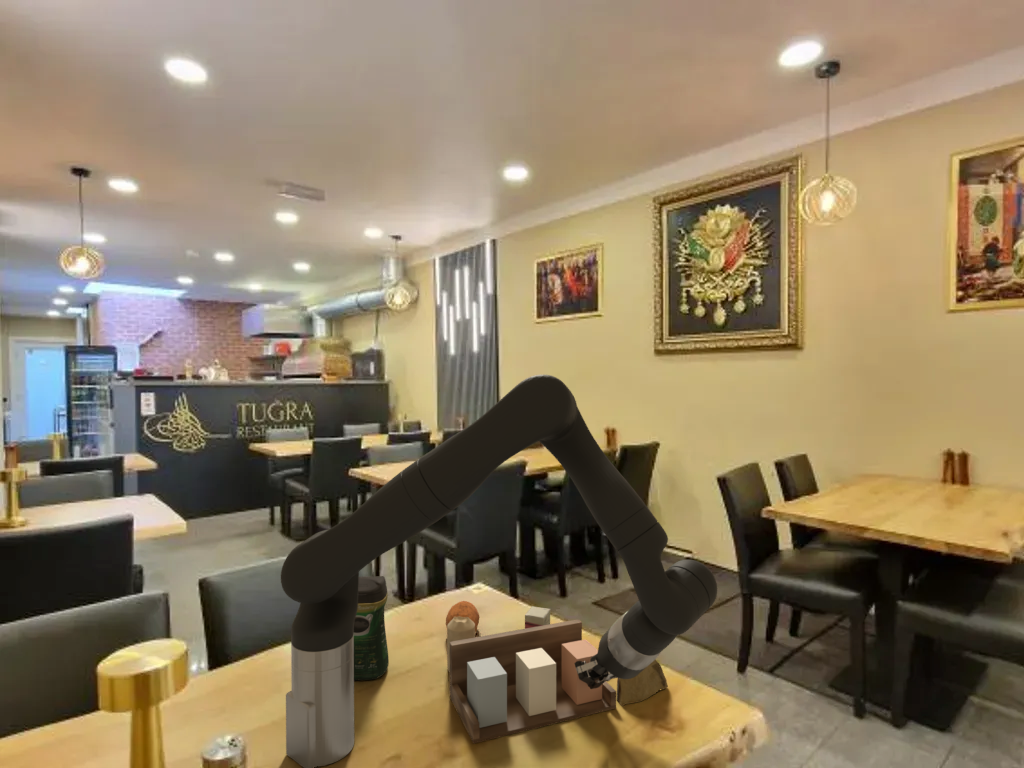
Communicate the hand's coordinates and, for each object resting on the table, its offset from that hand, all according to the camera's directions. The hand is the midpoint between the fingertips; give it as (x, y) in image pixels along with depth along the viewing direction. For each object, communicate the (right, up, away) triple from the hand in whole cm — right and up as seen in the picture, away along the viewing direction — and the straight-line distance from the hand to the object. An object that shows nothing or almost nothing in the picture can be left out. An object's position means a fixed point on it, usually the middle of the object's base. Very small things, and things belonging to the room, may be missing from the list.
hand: (591, 682), depth 100 cm
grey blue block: (-18, -5, -3) cm, 19 cm away
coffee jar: (-43, -5, +13) cm, 45 cm away
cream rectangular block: (-10, -5, +1) cm, 11 cm away
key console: (-10, -5, +2) cm, 12 cm away
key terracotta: (-1, -5, +4) cm, 6 cm away
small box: (-8, -5, +22) cm, 24 cm away
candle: (-24, -5, +14) cm, 28 cm away
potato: (-25, -4, +29) cm, 38 cm away
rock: (+10, -5, +5) cm, 12 cm away
